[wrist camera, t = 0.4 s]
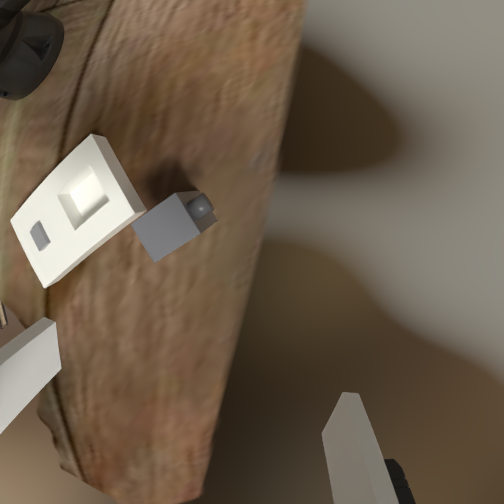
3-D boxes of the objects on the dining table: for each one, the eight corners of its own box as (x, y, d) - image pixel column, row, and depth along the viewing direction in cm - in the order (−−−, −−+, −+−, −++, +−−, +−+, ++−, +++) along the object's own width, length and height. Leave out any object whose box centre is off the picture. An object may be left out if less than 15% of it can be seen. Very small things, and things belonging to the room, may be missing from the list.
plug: (163, 214, 33) (130, 224, 25) (210, 182, 32) (191, 181, 24) (181, 243, 34) (154, 262, 25) (229, 213, 33) (216, 223, 24)
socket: (25, 217, 34) (6, 221, 30) (105, 137, 32) (87, 132, 27) (58, 280, 36) (41, 290, 32) (147, 210, 33) (131, 214, 29)
